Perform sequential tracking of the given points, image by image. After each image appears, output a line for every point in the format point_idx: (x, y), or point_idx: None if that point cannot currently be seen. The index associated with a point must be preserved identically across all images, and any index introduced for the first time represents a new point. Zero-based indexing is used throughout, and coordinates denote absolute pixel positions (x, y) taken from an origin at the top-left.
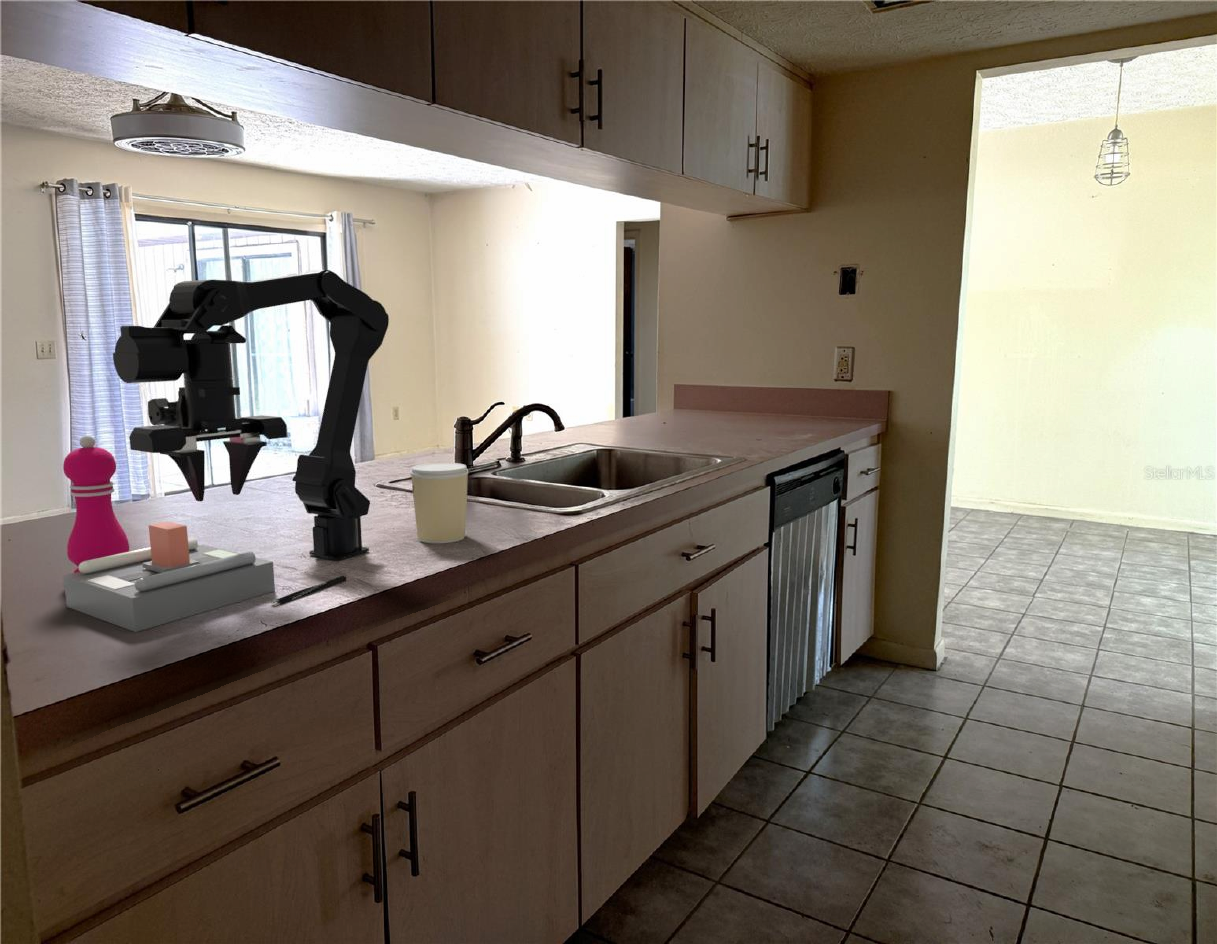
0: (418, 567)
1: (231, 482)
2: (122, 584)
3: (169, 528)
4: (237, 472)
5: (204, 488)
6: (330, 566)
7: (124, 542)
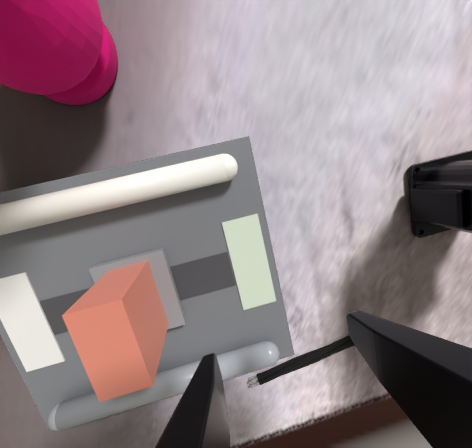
0: (459, 337)
1: (377, 337)
2: (42, 352)
3: (106, 392)
4: (430, 420)
5: (229, 441)
6: (391, 255)
7: (74, 58)
